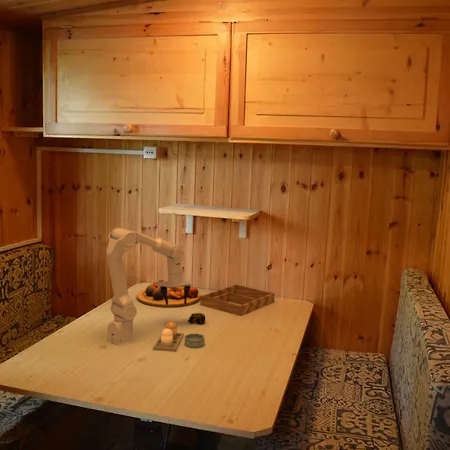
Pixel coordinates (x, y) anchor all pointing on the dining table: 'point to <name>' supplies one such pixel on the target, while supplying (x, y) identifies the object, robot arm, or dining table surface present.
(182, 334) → the divided tray
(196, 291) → the wooden plate with food
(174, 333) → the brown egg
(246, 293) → the wooden compartment tray
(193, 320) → the tape measure
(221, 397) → the dining table surface
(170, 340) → the tan rounded cylinder
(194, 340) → the octagonal bowl
